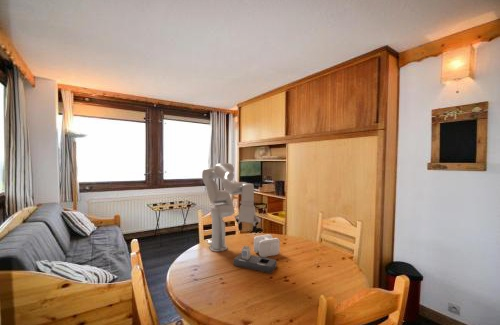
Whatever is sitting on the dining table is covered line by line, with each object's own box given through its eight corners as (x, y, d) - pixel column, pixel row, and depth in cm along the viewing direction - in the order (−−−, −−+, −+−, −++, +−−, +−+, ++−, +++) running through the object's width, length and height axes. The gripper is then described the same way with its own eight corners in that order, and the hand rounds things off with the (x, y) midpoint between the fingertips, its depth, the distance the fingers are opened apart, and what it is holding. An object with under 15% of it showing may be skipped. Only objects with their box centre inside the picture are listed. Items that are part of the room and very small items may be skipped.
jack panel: (233, 265, 141) (233, 258, 141) (241, 259, 150) (241, 252, 150) (270, 273, 131) (270, 266, 131) (276, 266, 140) (276, 259, 140)
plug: (241, 265, 141) (241, 247, 141) (244, 262, 146) (244, 245, 146) (247, 266, 140) (247, 249, 140) (250, 263, 144) (250, 246, 144)
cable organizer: (272, 249, 167) (272, 233, 167) (280, 255, 157) (280, 238, 157) (253, 253, 160) (253, 236, 160) (260, 258, 151) (260, 241, 151)
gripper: (232, 203, 143) (232, 230, 143) (258, 205, 136) (257, 234, 136) (237, 201, 150) (237, 227, 150) (262, 203, 143) (262, 231, 143)
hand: (247, 231), depth 143 cm, fingers open, 9 cm apart
